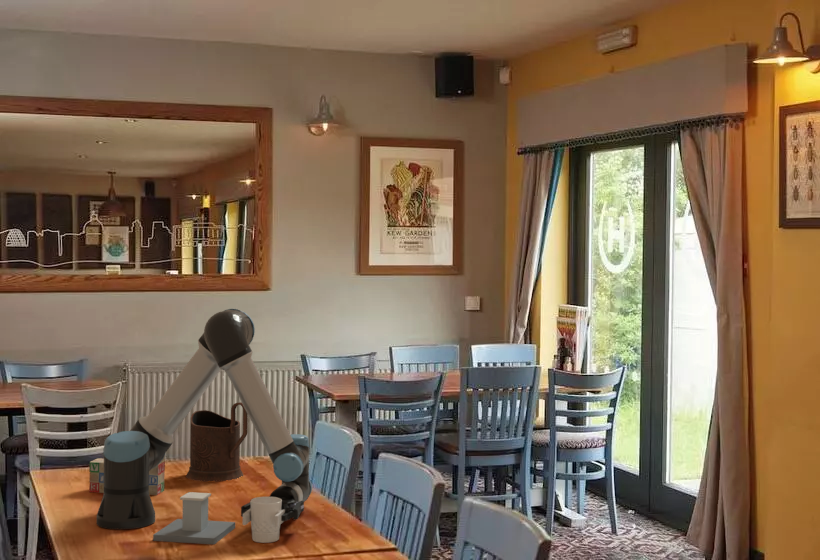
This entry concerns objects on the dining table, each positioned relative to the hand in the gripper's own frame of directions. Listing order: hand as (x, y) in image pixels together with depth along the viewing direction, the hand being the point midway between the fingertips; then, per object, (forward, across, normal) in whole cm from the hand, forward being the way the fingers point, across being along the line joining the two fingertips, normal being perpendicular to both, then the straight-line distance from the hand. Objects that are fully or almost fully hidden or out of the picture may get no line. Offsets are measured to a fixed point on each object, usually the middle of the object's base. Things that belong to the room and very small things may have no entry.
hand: (260, 520), depth 256 cm
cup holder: (-73, +36, -6) cm, 81 cm away
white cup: (-5, 0, -6) cm, 8 cm away
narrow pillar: (-6, +19, -6) cm, 21 cm away
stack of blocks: (-47, +56, -6) cm, 73 cm away
